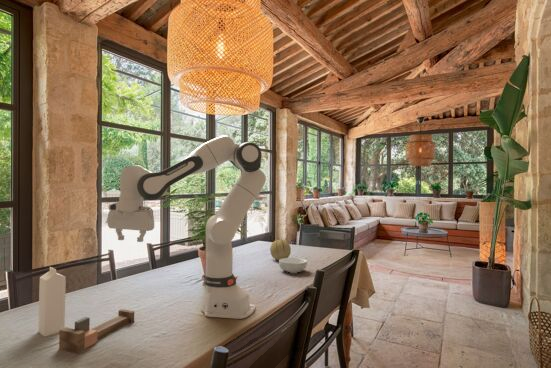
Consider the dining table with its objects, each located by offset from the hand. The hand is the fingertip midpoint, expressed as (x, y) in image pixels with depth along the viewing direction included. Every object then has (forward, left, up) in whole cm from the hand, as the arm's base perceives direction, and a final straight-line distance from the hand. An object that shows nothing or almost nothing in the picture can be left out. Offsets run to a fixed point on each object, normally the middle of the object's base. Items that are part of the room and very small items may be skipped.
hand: (130, 240), depth 127 cm
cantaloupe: (-28, -112, -29) cm, 119 cm away
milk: (+14, +21, -29) cm, 39 cm away
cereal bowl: (-44, -86, -29) cm, 101 cm away
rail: (-4, +17, -29) cm, 34 cm away
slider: (-4, +24, -29) cm, 38 cm away
